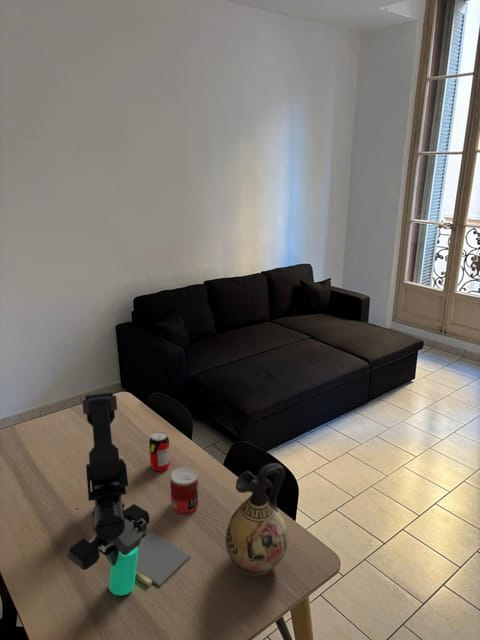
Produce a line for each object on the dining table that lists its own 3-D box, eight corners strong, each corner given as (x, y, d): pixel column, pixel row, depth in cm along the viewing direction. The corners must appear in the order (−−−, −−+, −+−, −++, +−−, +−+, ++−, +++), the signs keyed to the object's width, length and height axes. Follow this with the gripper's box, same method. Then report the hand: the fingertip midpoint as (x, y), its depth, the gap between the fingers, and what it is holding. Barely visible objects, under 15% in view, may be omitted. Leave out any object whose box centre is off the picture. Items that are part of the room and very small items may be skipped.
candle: (110, 576, 118) (114, 533, 115) (135, 577, 119) (139, 533, 116) (107, 595, 112) (111, 550, 109) (133, 595, 113) (138, 550, 110)
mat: (120, 559, 123) (120, 557, 123) (151, 533, 132) (151, 531, 132) (159, 586, 116) (159, 585, 115) (190, 557, 124) (190, 555, 124)
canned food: (194, 517, 138) (193, 485, 134) (167, 512, 139) (166, 481, 136) (201, 499, 145) (201, 468, 141) (176, 495, 146) (175, 465, 143)
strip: (121, 566, 121) (121, 563, 121) (124, 564, 122) (124, 560, 121) (149, 587, 116) (149, 583, 115) (152, 584, 116) (152, 580, 116)
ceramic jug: (240, 597, 113) (242, 493, 103) (217, 550, 127) (217, 453, 117) (302, 574, 120) (310, 474, 110) (274, 531, 133) (279, 438, 123)
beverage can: (168, 459, 163) (166, 429, 159) (171, 470, 158) (170, 439, 154) (149, 463, 161) (147, 432, 157) (152, 474, 156) (150, 442, 152)
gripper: (96, 549, 94) (102, 611, 99) (165, 500, 108) (167, 556, 113) (63, 525, 100) (69, 584, 105) (131, 481, 115) (134, 535, 119)
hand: (113, 564), depth 110 cm, fingers closed
